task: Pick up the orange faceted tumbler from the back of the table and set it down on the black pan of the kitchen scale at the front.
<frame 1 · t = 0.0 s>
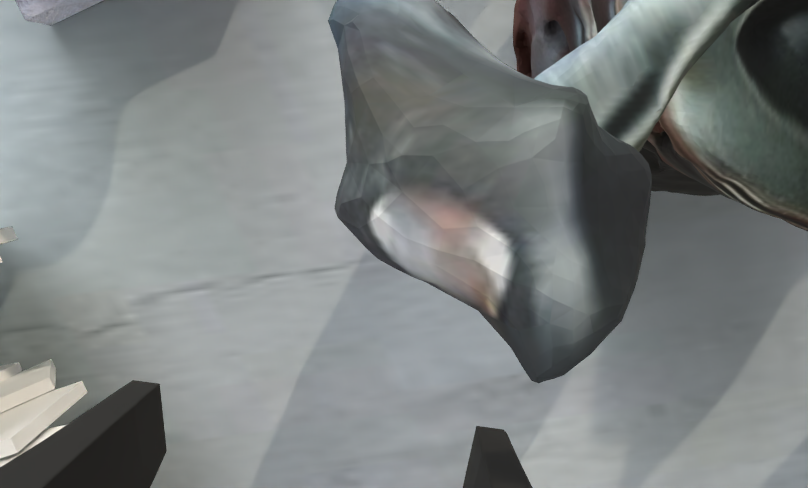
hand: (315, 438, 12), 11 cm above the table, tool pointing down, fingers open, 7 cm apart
spiral staircase: (25, 431, 25), on the table
coffee grinder: (603, 54, 20), on the table
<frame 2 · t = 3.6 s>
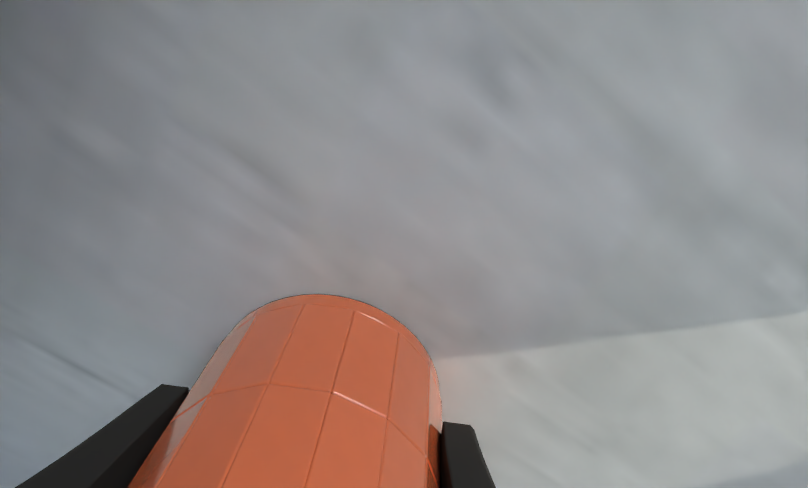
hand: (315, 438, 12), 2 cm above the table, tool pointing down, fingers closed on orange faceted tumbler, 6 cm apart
orange faceted tumbler: (327, 390, 13), on the table, touching gripper
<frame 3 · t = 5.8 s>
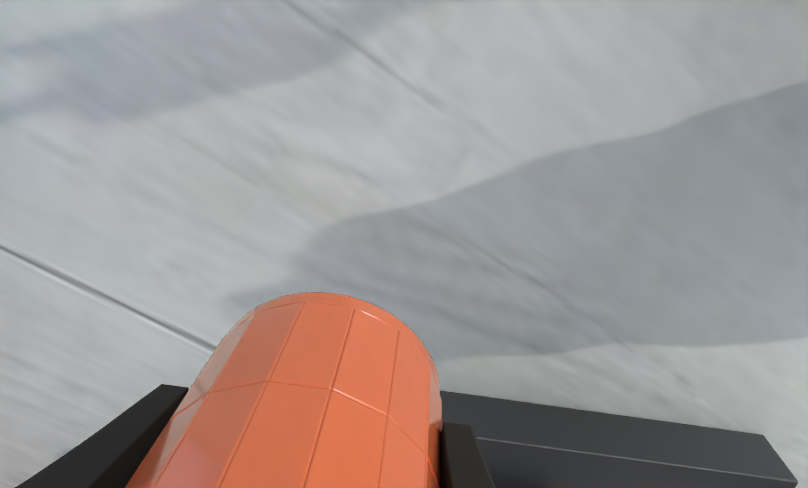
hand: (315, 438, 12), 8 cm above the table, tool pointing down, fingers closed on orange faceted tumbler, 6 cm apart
orange faceted tumbler: (327, 389, 13), point 7 cm above the table, touching gripper
when the fingers open (5 cm above the table, at t = 8.2 s): orange faceted tumbler stays where it is, resting on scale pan.
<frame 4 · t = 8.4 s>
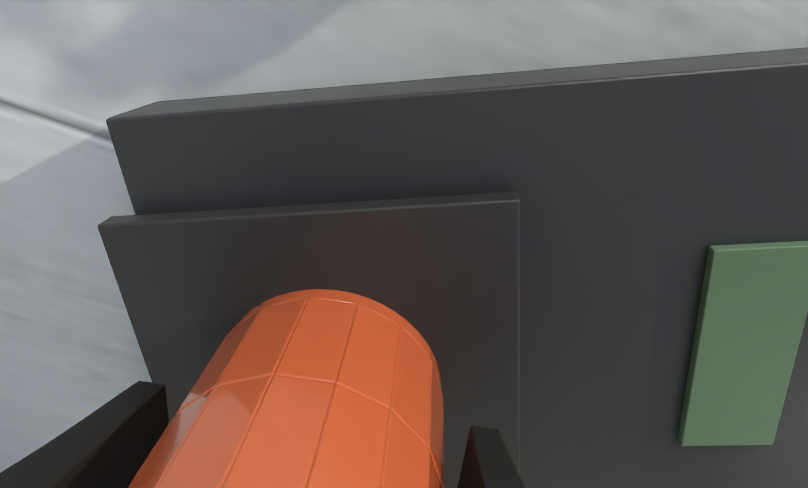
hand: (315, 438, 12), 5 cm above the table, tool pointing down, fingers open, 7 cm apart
scale housing: (495, 309, 16), on the table
orange faceted tumbler: (330, 384, 14), point 3 cm above the table, touching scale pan
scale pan: (333, 379, 14), point 3 cm above the table, slide at -0.1 cm, touching orange faceted tumbler
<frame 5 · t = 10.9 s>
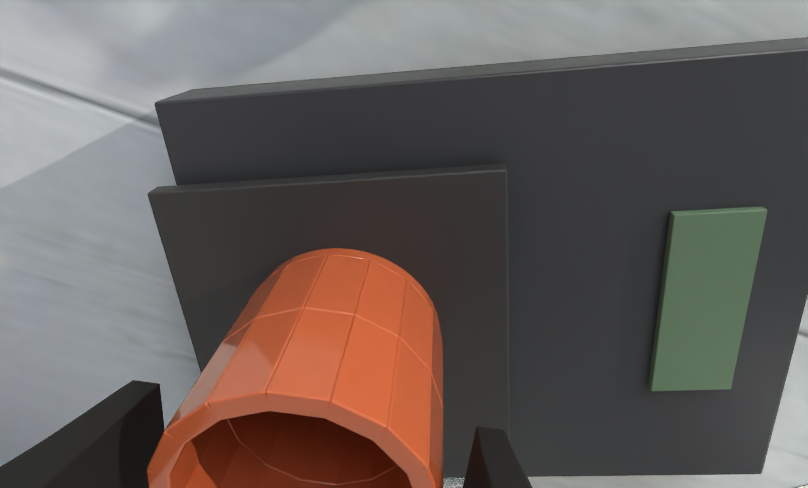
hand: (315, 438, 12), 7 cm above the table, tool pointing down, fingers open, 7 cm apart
scale housing: (488, 275, 18), on the table
orange faceted tumbler: (344, 334, 16), point 3 cm above the table, touching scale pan
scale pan: (346, 330, 16), point 3 cm above the table, slide at -0.1 cm, touching orange faceted tumbler
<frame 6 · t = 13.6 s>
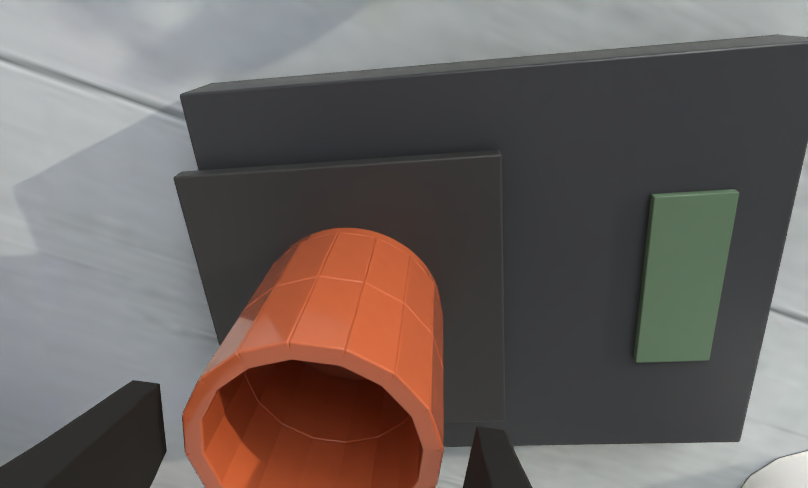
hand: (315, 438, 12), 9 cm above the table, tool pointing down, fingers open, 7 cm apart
scale housing: (485, 256, 20), on the table
orange faceted tumbler: (352, 308, 17), point 3 cm above the table, touching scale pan
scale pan: (354, 305, 17), point 3 cm above the table, slide at -0.1 cm, touching orange faceted tumbler
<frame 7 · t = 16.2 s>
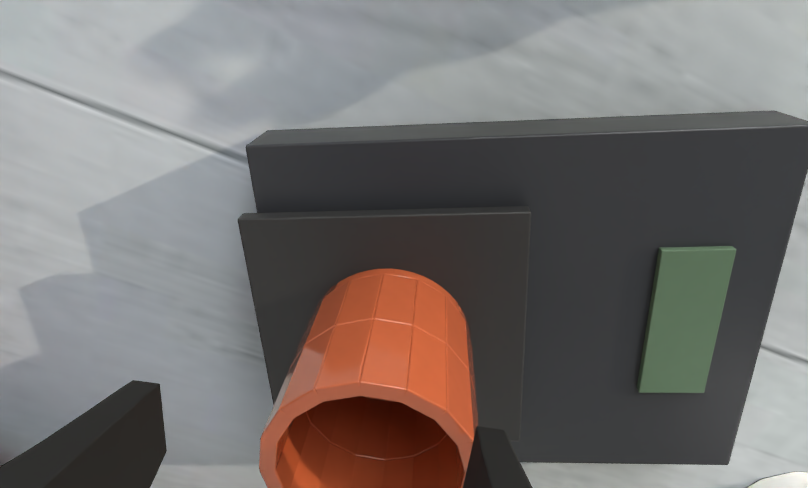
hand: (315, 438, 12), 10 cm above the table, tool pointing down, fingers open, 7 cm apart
scale housing: (505, 291, 22), on the table
orange faceted tumbler: (389, 338, 19), point 3 cm above the table, touching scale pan
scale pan: (390, 335, 19), point 3 cm above the table, slide at -0.1 cm, touching orange faceted tumbler
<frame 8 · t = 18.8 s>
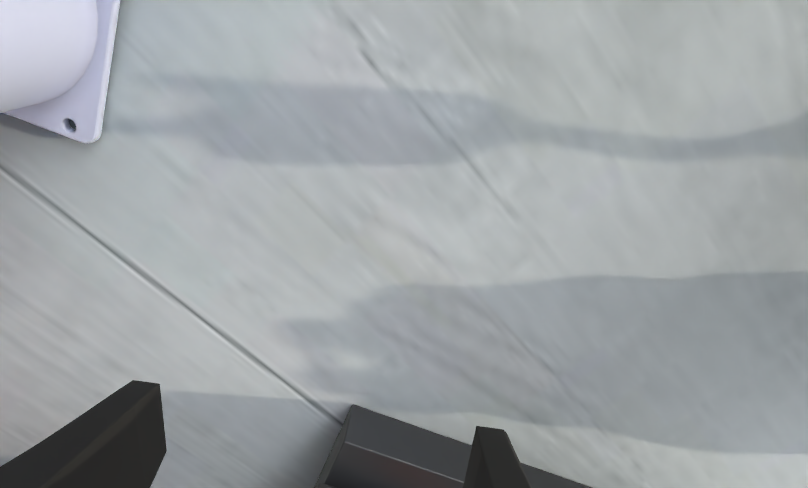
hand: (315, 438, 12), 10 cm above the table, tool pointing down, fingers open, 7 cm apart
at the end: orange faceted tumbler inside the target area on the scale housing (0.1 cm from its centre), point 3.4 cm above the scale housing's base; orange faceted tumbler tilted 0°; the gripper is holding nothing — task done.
